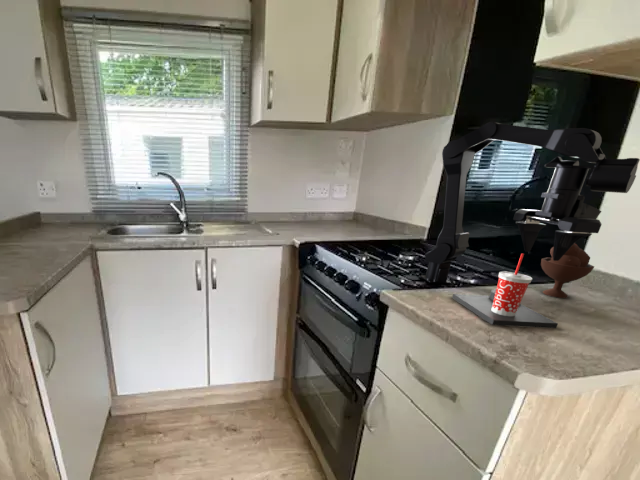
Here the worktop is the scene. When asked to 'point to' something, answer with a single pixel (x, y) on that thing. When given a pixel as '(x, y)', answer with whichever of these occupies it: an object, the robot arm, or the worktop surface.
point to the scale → (522, 317)
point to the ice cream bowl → (566, 269)
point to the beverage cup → (510, 291)
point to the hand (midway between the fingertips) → (540, 255)
